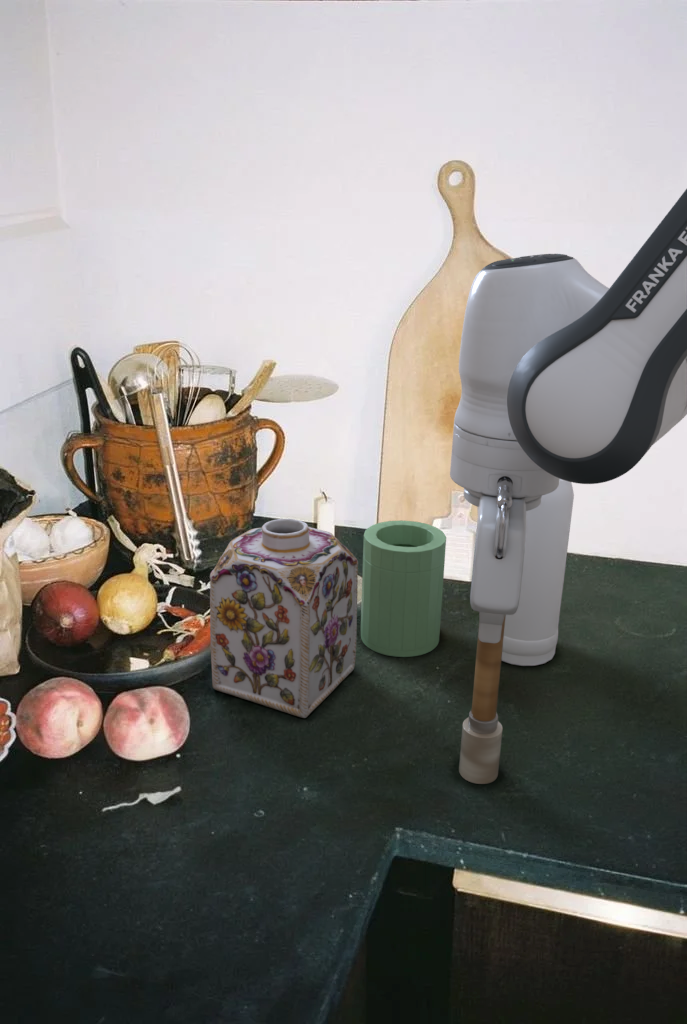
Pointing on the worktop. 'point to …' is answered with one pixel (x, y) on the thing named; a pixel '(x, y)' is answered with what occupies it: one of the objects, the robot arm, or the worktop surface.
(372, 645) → the green pen holder
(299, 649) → the decorative jar
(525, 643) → the bottle
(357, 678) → the worktop surface
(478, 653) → the brush
